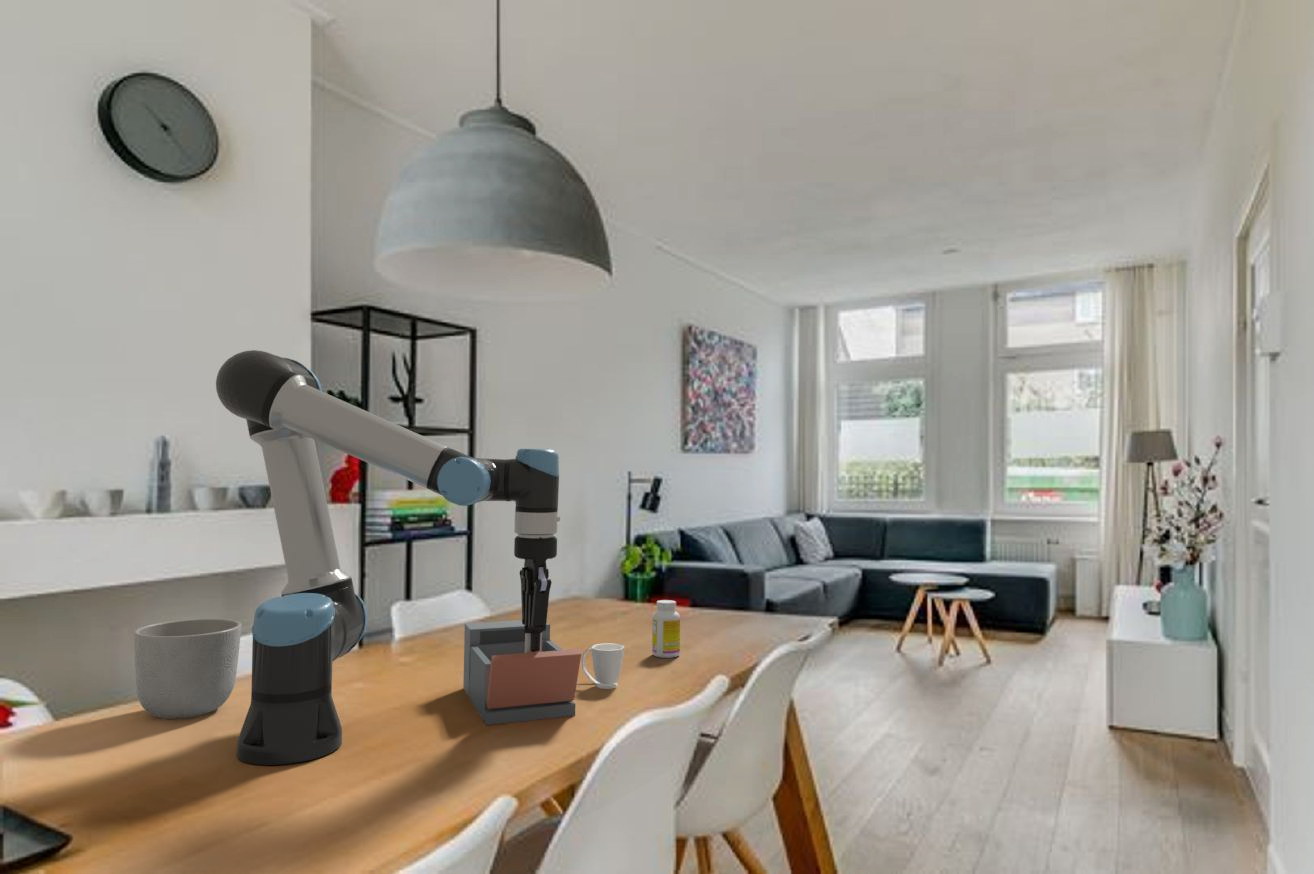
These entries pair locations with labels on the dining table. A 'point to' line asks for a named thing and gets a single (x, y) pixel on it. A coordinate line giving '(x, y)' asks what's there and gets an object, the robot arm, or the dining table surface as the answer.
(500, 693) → the panel
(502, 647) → the grey drop-front box
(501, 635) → the grey box shell
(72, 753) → the dining table surface
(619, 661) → the cup
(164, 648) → the planter
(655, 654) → the supplement bottle
